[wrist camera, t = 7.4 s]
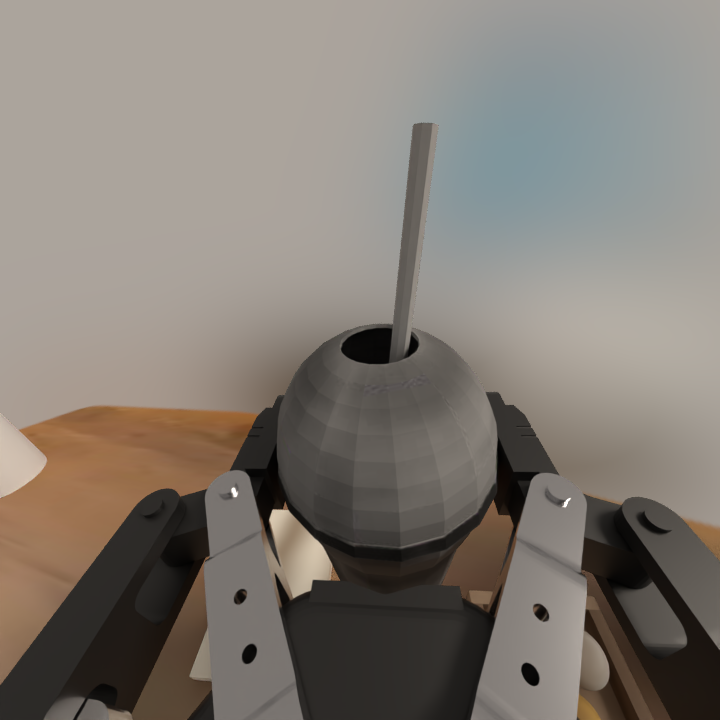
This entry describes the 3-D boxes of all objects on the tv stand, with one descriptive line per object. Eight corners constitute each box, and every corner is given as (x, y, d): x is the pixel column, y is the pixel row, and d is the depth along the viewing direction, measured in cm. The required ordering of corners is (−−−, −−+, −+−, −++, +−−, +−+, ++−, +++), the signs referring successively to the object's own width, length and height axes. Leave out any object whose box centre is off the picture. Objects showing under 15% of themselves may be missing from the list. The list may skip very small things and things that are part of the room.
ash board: (338, 516, 30) (337, 511, 30) (316, 690, 20) (313, 687, 20) (255, 514, 31) (252, 509, 30) (194, 679, 21) (188, 676, 20)
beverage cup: (313, 543, 18) (179, 155, 7) (415, 499, 20) (431, 138, 9) (350, 713, 12) (-26, 50, 1) (490, 629, 14) (780, 61, 3)
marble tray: (583, 607, 23) (601, 589, 21) (681, 822, 15) (723, 826, 13) (465, 600, 24) (471, 582, 22) (503, 801, 16) (518, 802, 14)
